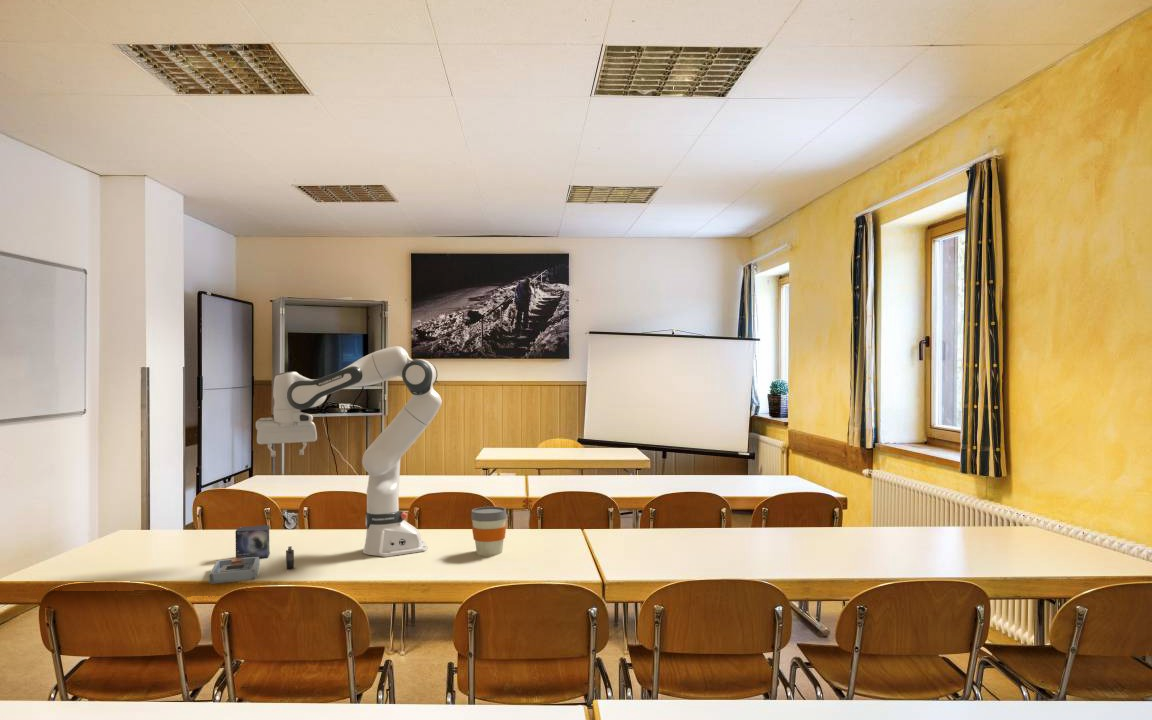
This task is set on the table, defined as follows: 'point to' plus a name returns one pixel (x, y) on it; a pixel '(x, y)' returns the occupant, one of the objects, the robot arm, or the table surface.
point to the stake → (289, 558)
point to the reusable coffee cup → (489, 529)
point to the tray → (234, 575)
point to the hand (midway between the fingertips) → (287, 455)
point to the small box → (252, 542)
